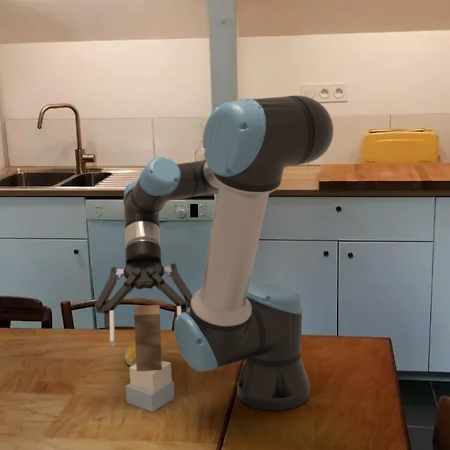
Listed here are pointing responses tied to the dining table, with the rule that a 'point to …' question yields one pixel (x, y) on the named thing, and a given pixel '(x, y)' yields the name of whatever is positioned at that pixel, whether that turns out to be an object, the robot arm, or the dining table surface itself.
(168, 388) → the tower base
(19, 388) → the dining table surface
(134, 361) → the bread roll
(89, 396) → the dining table surface
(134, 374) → the tower top
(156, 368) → the pillar
